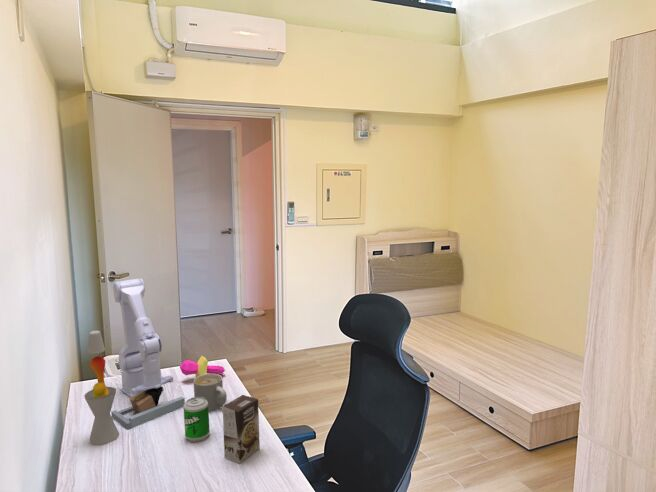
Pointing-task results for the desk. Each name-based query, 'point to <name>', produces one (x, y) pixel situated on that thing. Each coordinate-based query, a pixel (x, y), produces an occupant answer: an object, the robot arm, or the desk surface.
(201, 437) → the soda can
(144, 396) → the cardboard box
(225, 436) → the coffee box
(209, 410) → the coffee mug
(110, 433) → the lava lamp
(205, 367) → the toy
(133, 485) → the desk surface
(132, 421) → the grey j-shaped hook
